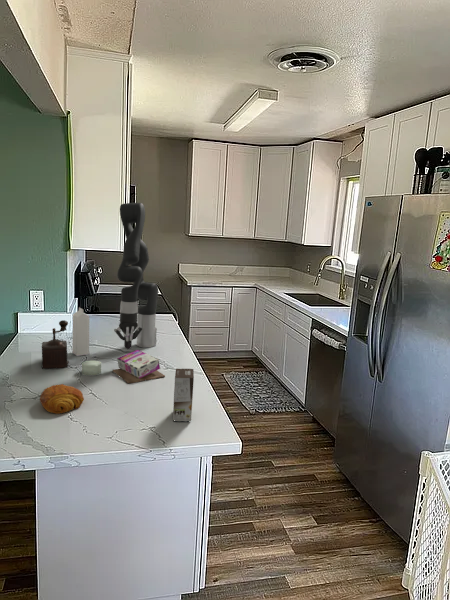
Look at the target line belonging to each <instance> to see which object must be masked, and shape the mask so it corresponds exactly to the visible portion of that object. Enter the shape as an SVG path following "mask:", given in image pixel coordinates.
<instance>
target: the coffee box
mask: <svg viewBox="0 0 450 600" xmlns="http://www.w3.org/2000/svg"><path fill="white" fill-rule="evenodd" d="M194 375H195V374H194V368H176V369H175V375H174V391H173V407H172V408H173V410H172V411H173V412H172V413H173V414H172V421H173V420H175V421H191V422H192V413H193V412H192V411H193V399H194V396H193V394H194V382H195V381H194V378H195V377H194Z"/></svg>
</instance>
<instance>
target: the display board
mask: <svg viewBox="0 0 450 600" xmlns="http://www.w3.org/2000/svg"><path fill="white" fill-rule="evenodd" d="M112 372H113V373H114V374H116V375H117V376H118V377H119V376H120V377H119V378H120V379H122V380H123V381H124V382H125V383H127V384H129V385H130V384H134V383H140V382H145V380H146V381H151V379H152V380H156V379H162V378H165V377H166V375H165V374H163V373H162V372H160V371H159V370H156V371H154V372H152V373H150V374H148V375H146V376H144V377H142V378H140V379H139V378H137V377H135V376H133V375H132V374H130V373H128V372H126V371H124V370H122V369H121V368H117V369H112Z"/></svg>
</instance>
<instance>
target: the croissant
mask: <svg viewBox="0 0 450 600" xmlns="http://www.w3.org/2000/svg"><path fill="white" fill-rule="evenodd" d="M39 401H40V403H41V406H42V408H43V409H45V410H46V411H47V413H50V414H51V413H52V414H56V415H57V414H58V415H59V414H60V413H61V414H65V413H67V412H70V410H71V411H72V410H77V409H79V408H80V407H81V406H82V404H83V402H84V401H85V397H84V394H83V392H82V390H80V389H78V388H76V387H74V386H71V385H65V384H63V383H60V384H55V385H54V384H53V385H51V386H49V387H46V388H45V389H44V390H43V391H42V392H41V394H40V397H39ZM76 408H77V409H76Z"/></svg>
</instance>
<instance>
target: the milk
mask: <svg viewBox="0 0 450 600" xmlns="http://www.w3.org/2000/svg"><path fill="white" fill-rule="evenodd" d="M72 353H73V354H74V355H75V356H76V357H79V356H86V355H90V315H88V314H87V313H85V312H84V309H83V308H81V307H78V310H76V311H75V312H74V313H73V314H72Z"/></svg>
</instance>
